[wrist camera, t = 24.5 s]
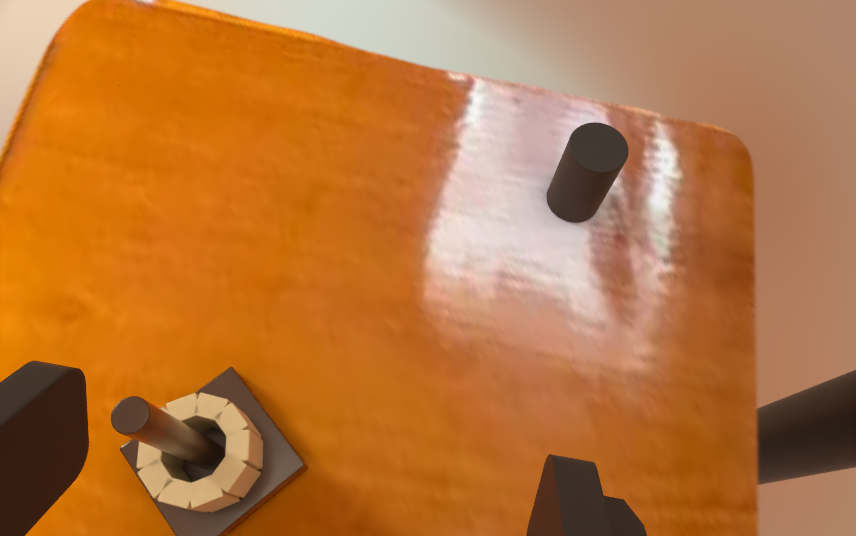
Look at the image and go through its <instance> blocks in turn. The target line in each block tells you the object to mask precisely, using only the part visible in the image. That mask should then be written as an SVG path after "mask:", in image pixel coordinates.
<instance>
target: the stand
mask: <svg viewBox="0 0 856 536" xmlns="http://www.w3.org/2000/svg"><path fill="white" fill-rule="evenodd" d="M200 393H205V394H209V395H213V396H217V397H221V398H224V399H228V400H229V401H230V402H231V403H233V404H234V405H236V406H237V407H238V408H239V409H240V410H241V411H242V412H243V413H245V414H246V415H247V416H248V418H249V419H250V420H251V422H252V423H253V424H254V426H255V427H256V429H257V430H258V431H259V433H260V434H261V438H260V439H262V440H263V467H262V469H256V470H258V471H259V472H261V474H260V475H259V477H258V478H257V480H256V481H255V483H254V484H253V485H252V487H251V488H250V490H249V491H248V493H247V494H246V495H245V497H244V498H242V497H239V499H240V501H239V502H237V503H234V504H232V505H229V506H227V507H225V508H222V509H220V510H217V511H215V512H207V513H205V512H200V511H195V510H189V509H185V508H181V507H177V506H174V505H170V504H166V503H163V502H159V501H158V499H156V498H153V497H152V495H151V494H150V492H149V491H148V489H147V488H146V486H145V485H144V483H143V481H142V480H141V478H140V477H139V475H138V474H137V473H138V472H139V471H140V470H141V469H138V468H137V457H138V448H139V441H140V442H142V443H144V444H147V445H149V446H151V447H154V448H156V449H159V450H161V451H163V452H166V453H168V454H170V455H173V456H175V457H178V458H180V459H182V460H184V463H183V470H184V471H185V473H186V474H187V476H188V477H189V479H190V480H191V482H195V481H197V480H200V479H202V478H205V477H207V476H210V475H212V474H213V473H214V471H215V470H216V468H217V467H218V466H219V464H220V463H221V462H222V460H223V459H224V458H225V451H226V435H225V434H224V432H223V431H222V430H220V429H217V428H213V429H210V430H208V431H205V432H202V433H200V432H198V431H196V430H195V429H193V428H191V427H190V426H188V425H186V424H185V423H183V422H181V421H179V420H178V419H176V418H174V417H173V416H171V415H169V414H168V413H166V412H164V411H163V410H161V409H159V408H158V407H156V406H154V405H153V404H151V403H149V402H148V401H146V400H144V399H143V398H140V397H136V396H132V397H127V398H125V399H123V400H121V401H120V402H119V403H118V404H117V405H116V406H115V407H114V409H113V411H112V414H111V423H112V426H113V428H114V429H115V430H116V431H117V432H119V433H121V434H123V435H125V436H128V437H130V438H133V439H132V440H130V441H129V442H127V443H126V444H125V445H123V446H122V447H121V448H120V450H121V452H122V453H123V455H124V457H125V458H126V460H127V461H128V463H129V464H130V466H131V467H132V469H133V470H134V472H135V473H136V475H137V477H138V478H139V480H140V481H141V483H142V484H143V486H144V487H145V489H146V490H147V492H148V493H149V495H150V497H151V498H152V500H153V501H154V503H155V504H156V506H157V507H158V509H159V510H160V512H161V513H162V515H163V517H164V518H165V520H166V521H167V523H168V524H169V526H170V527H171V529H172V530H173V532H174V533H175V535H176V536H225V535H227V534H228V533H229V532H230V531H232V530H233V529H234V528H235V527H236V526H238V525H239V524H240V523H241V522H242V521H244V520H245V519H246V518H247V517H249V516H250V515H251V514H252V513H253V512H255V511H256V510H257V509H258V508H259V507H261V506H262V505H263V504H264V503H266V502H267V501H268V500H269V499H270V498H272V497H273V496H274V495H275V494H276V493H278V492H279V491H280V490H281V489H283V488H284V487H285V486H286V485H287V484H289V483H290V482H291V481H292V480H293V479H295V478H296V477H297V476H298V475H300V474H301V473H302V472H303V471H304V470H306V469H307V465H306V464H305V463H304V461H303V460H302V459H301V457H300V456H299V455H298V453H297V452H296V451H295V449H294V448H293V447H292V445H291V444H290V443H289V441H288V440H287V439H286V437H285V436H284V435H283V433H282V432H281V431H280V429H279V428H278V426H277V425H276V424H275V422H274V421H273V420H272V418H271V417H270V416H269V414H268V413H267V412H266V410H265V409H264V408H263V406H262V405H261V404H260V402H259V401H258V400H257V398H256V397H255V396H254V394H253V393H252V392H251V390H250V389H249V388H248V386H247V385H246V384H245V382H244V381H243V380H242V378H241V377H240V376H239V374H238V373H237V372H236V371H235V370H234V368H233V367H230V368H228V369H227V370H225V371H224V372H223V373H221V374H220V375H219V376H217V377H216V378H215V379H213V380H212V381H210V382H209V383H208V384H206V385H205V386H204V387H202V388H201V389H200V390H198V391H197V392H196V394H198V395H199V394H200Z"/></svg>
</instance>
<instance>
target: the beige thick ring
mask: <svg viewBox="0 0 856 536" xmlns="http://www.w3.org/2000/svg"><path fill="white" fill-rule="evenodd" d="M166 406H167V409H166V408H164V407H161V408H160V409H161V410H163V411H164V412H166V413H168V414H169V415H171V416H173V417H174V418H176V419H178V420H179V421H181V422H183V423H185V424H186V425H188V426H190V427H191V428H193V429H195V430H196V431H198V432H200V433H202V432H205V431H208V430H210V429H213V428H217V429H220V430H222V431H223V432H224V434H225V435H226V451H225V458H224V459H223V460H222V462H221V463H220V464H219V466H218V467H217V468H216V470H215V471H214V473H213V474H212V475H210V476H207V477H205V478H202V479H200V480H197V481H195V482H191V480H190V479H189V477H188V476H187V474H186V473H185V471H184V470H183V463H184V460H182V459H180V458H178V457H175V456H173V455H170V454H168V453H166V452H163V451H161V450H159V449H156V448H154V447H151V446H149V445H147V444H144V443H142V442H140V441H139V448H138V457H137V468H138V469H141V470H140V471H139V472H138V473H137V474H138V475H139V477H140V478H141V480H142V481H143V483H144V485H145V486H146V488H147V489H148V491H149V492H150V494H151V495H152V497H153V498H156V499H158V501H159V502H163V503H166V504H170V505H174V506H177V507H181V508H185V509H189V510H195V511H200V512H205V513H207V512H215V511H217V510H220V509H222V508H225V507H227V506H229V505H232V504H234V503H237V502H239V501H240V499H239V497H242V498H244V497H245V495H246V494H247V493H248V491H249V490H250V488H251V487H252V485H253V484H254V483H255V481H256V480H257V478H258V477H259V475H260V474H261V472H259V471H258V470H256V469H262V467H263V440H262V439H260V438H261V434H260V433H259V431H258V430H257V429H256V427H255V426H254V424H253V423H252V422H251V420H250V419H249V418H248V416H247V415H246V414H245V413H243V412H242V411H241V410H240V409H239V408H238V407H237V406H236V405H234V404H233V403H231V402H230V401H229V400H228V399H224V398H221V397H217V396H213V395H209V394H205V393H200V394H199V395H198V394H196V393H193V394H191V395H188V396H185V397H182V398H180V399H177V400H174V401H172V402H169V403H167V404H166Z"/></svg>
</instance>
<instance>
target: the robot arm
mask: <svg viewBox="0 0 856 536" xmlns="http://www.w3.org/2000/svg"><path fill="white" fill-rule="evenodd" d="M88 447H89V437H88V418H87V398H86V381H85V376H84V374H83V372H82V371H81V370H80V369H78V368H73V367H67V366H62V365H56V364H50V363H45V362H39V361H31V362H28V363H27V364H25V365H24V366H22V367H21V368H20V369H18V370H17V371H15V372H14V373H13V374H11V375H10V376H9V377H7V378H6V379H4V380H3V381H2V382H0V536H25V535H26V534H27V532H28V531H29V530H30V529H31V528H32V527H33V526H34V525H35V524H36V523H37V521H38V520H39V519H40V518H41V517H42V516H43V515H44V514H45V513H46V512H47V511H48V509H49V508H50V507H51V506H52V505H53V504H54V503H55V502H56V501H57V500H58V498H59V497H60V496H61V495H62V494H63V493H64V492H65V491H66V490H67V489H68V488H69V486H70V485H71V484H72V483H73V482H74V481H75V480H76V478H77V477H78V475H79V474H80V472H81V470H82V468H83V466H84V463H85V460H86V457H87V453H88ZM527 536H647V534H646V531H645V528H644V525H643V524H642V522H641V521H640V520H639V519H638V517H637V516H636V515H635V513H634V512H633V511H632V510H631V508H630V507H629V506H628V505H627V503H626V502H625V501H624V499H618V498H613V497H607V496H604V495H603V491H602V487H601V483H600V479H599V475H598V471H597V468H596V465H595V463H594V462H590V461H584V460H579V459H573V458H567V457H562V456H556V455H551V454H550V455H548V457H547V459H546V462H545V465H544V468H543V472H542V476H541V480H540V483H539V487H538V491H537V495H536V499H535V502H534V506H533V510H532V514H531V517H530V521H529V525H528V530H527Z"/></svg>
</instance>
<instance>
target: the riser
mask: <svg viewBox="0 0 856 536" xmlns="http://www.w3.org/2000/svg"><path fill="white" fill-rule="evenodd" d="M627 157H628V145H627V142H626V140H625V139H624V137H623V136H622V134H621V133H620V132H619V131H617V130H616V129H614V128H613V127H611V126H609V125H606V124H602V123H587V124H584V125H582V126H580V127H578V128H577V129H576V130H575V131H574V132H573V133H572V134H571V136H570V139H569V141H568V144H567V146H566V148H565V151H564V153H563V155H562V158H561V160H560V163H559V165H558V167H557V170H556V172H555V175H554V177H553V179H552V182H551V184H550V187H549V189H548V192H547V202H548V205H549V207H550V209H551V210H552V211H553V213H554V214H555V215H557V216H558V217H559V218H561V219H563V220H566V221H569V222H582V221H585V220H587V219H589V218H591V217H592V216H593V215H594V214H595V213H596V211H597V209H598V208H599V206H600V204H601V203H602V201H603V199H604V198H605V196H606V194H607V192H608V191H609V189H610V187H611V186H612V184H613V182H614V181H615V179H616V177H617V175H618V174H619V172H620V170H621V169H622V167H623V165H624V164H625V162H626V160H627Z"/></svg>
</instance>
